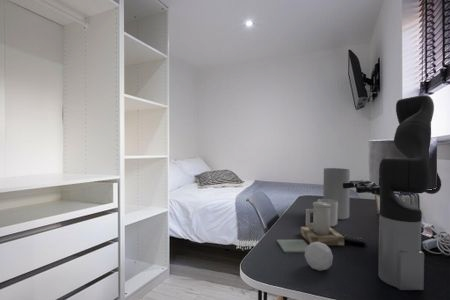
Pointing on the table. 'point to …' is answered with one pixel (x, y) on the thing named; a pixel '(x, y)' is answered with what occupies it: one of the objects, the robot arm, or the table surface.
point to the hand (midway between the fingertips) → (349, 187)
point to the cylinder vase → (337, 189)
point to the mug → (331, 210)
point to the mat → (292, 245)
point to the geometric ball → (318, 256)
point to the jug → (319, 218)
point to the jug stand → (322, 237)
